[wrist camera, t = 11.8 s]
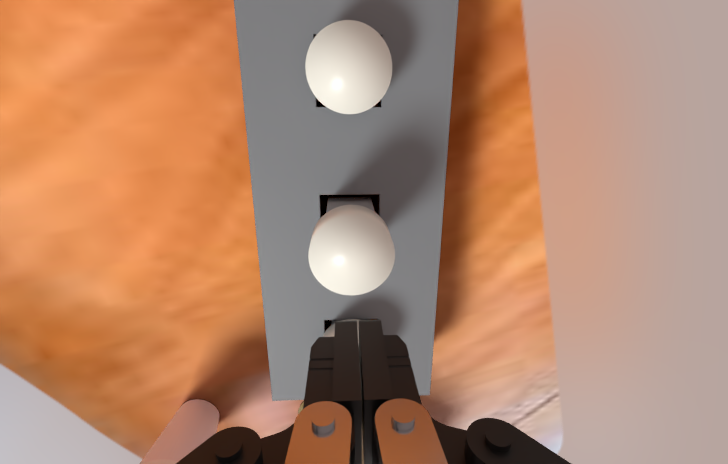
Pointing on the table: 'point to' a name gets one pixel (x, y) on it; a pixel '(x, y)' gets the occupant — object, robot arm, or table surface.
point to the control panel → (346, 170)
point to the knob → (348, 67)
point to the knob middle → (351, 247)
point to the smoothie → (184, 432)
